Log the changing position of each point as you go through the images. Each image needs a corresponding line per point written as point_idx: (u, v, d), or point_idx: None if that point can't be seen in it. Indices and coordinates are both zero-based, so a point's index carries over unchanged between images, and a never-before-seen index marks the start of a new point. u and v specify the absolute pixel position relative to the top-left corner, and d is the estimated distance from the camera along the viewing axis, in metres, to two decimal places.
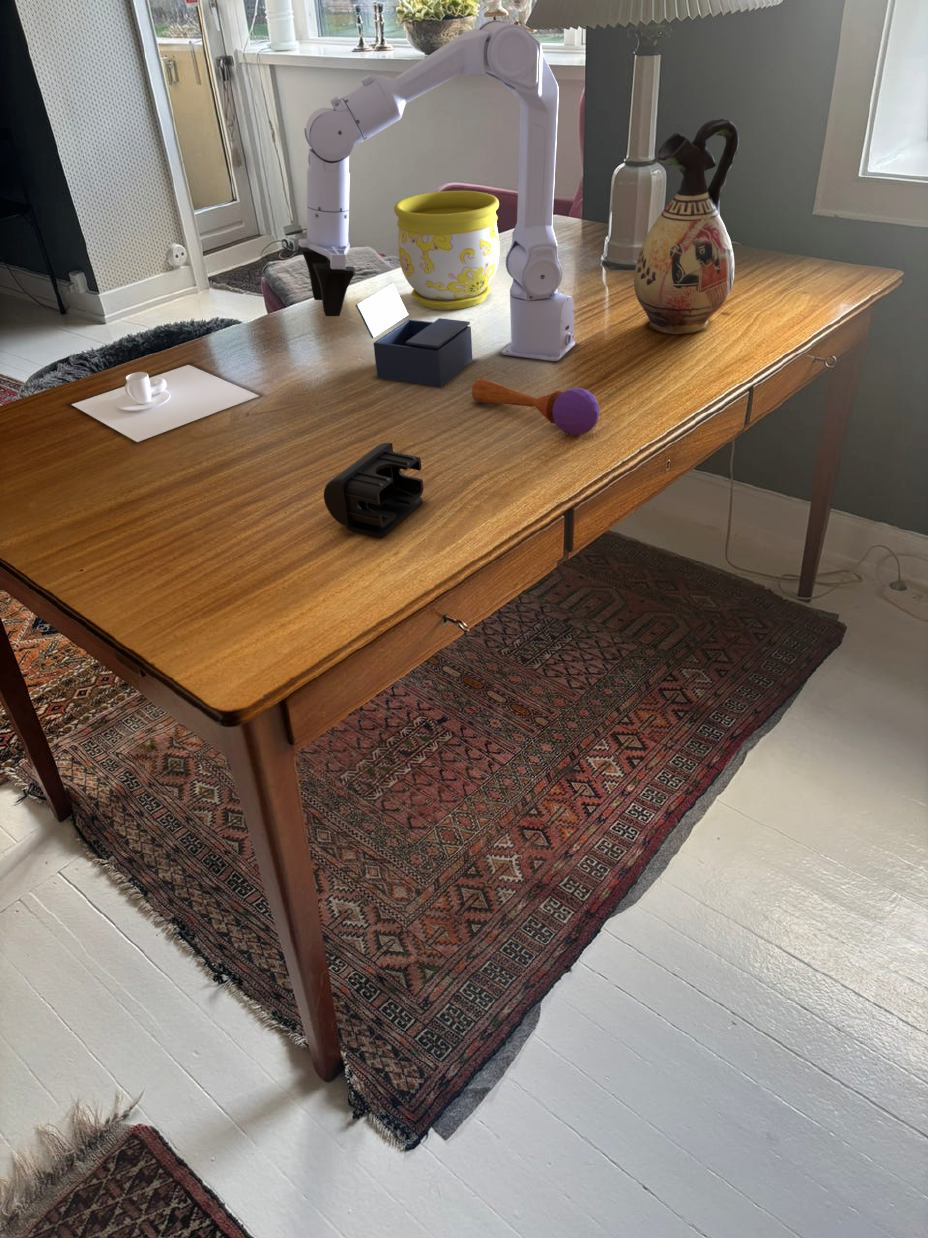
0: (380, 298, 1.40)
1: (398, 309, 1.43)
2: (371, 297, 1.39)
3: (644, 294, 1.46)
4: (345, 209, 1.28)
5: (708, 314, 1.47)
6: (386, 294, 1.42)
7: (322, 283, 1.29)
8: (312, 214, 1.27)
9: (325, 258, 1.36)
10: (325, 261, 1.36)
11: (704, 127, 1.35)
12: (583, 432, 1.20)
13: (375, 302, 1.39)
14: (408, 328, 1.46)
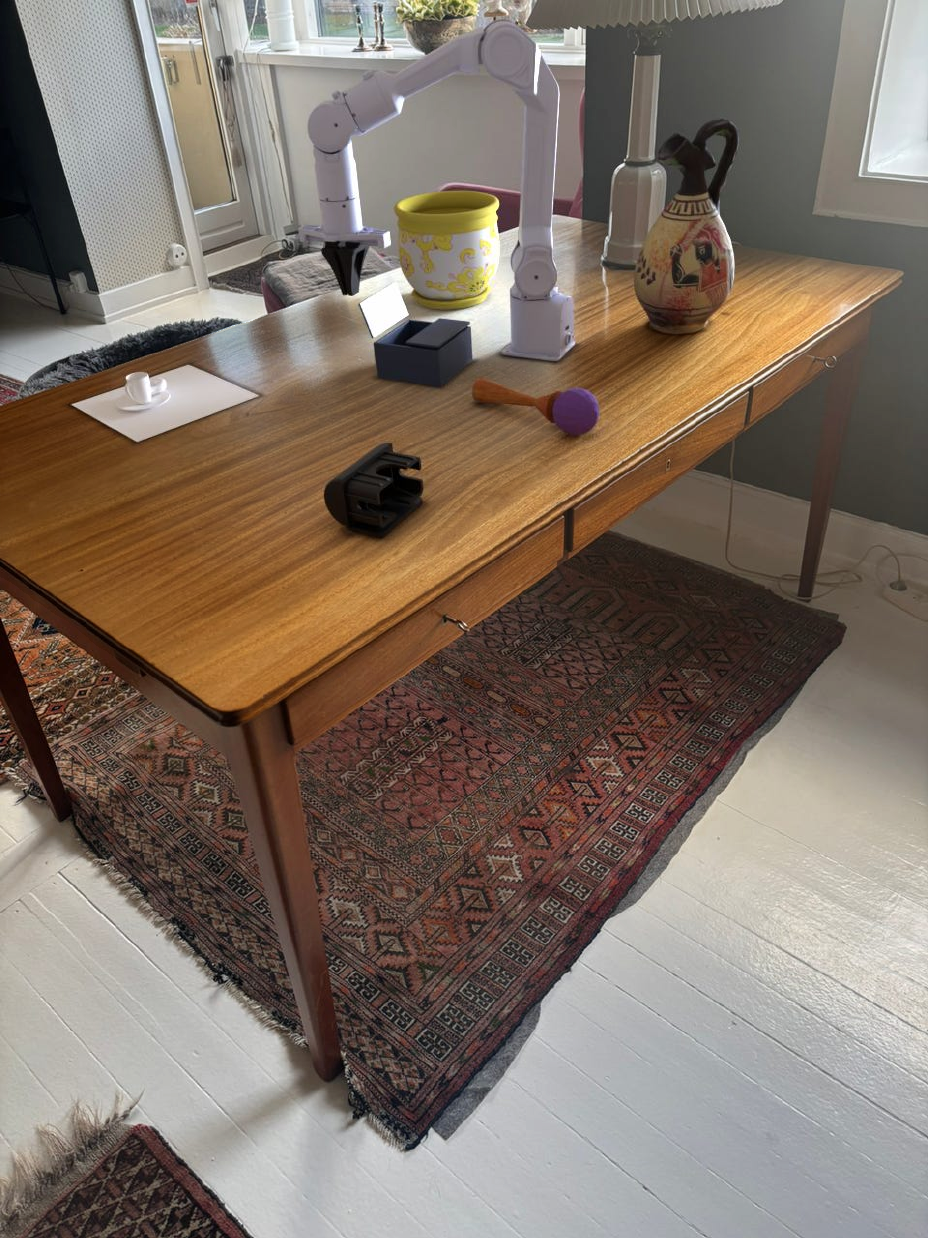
0: (382, 297, 1.40)
1: (399, 309, 1.43)
2: (374, 296, 1.38)
3: (644, 294, 1.46)
4: (352, 197, 1.32)
5: (708, 314, 1.47)
6: (388, 293, 1.41)
7: (352, 264, 1.37)
8: (339, 206, 1.32)
9: None
10: None
11: (704, 127, 1.35)
12: (583, 432, 1.20)
13: (378, 301, 1.39)
14: (408, 328, 1.46)
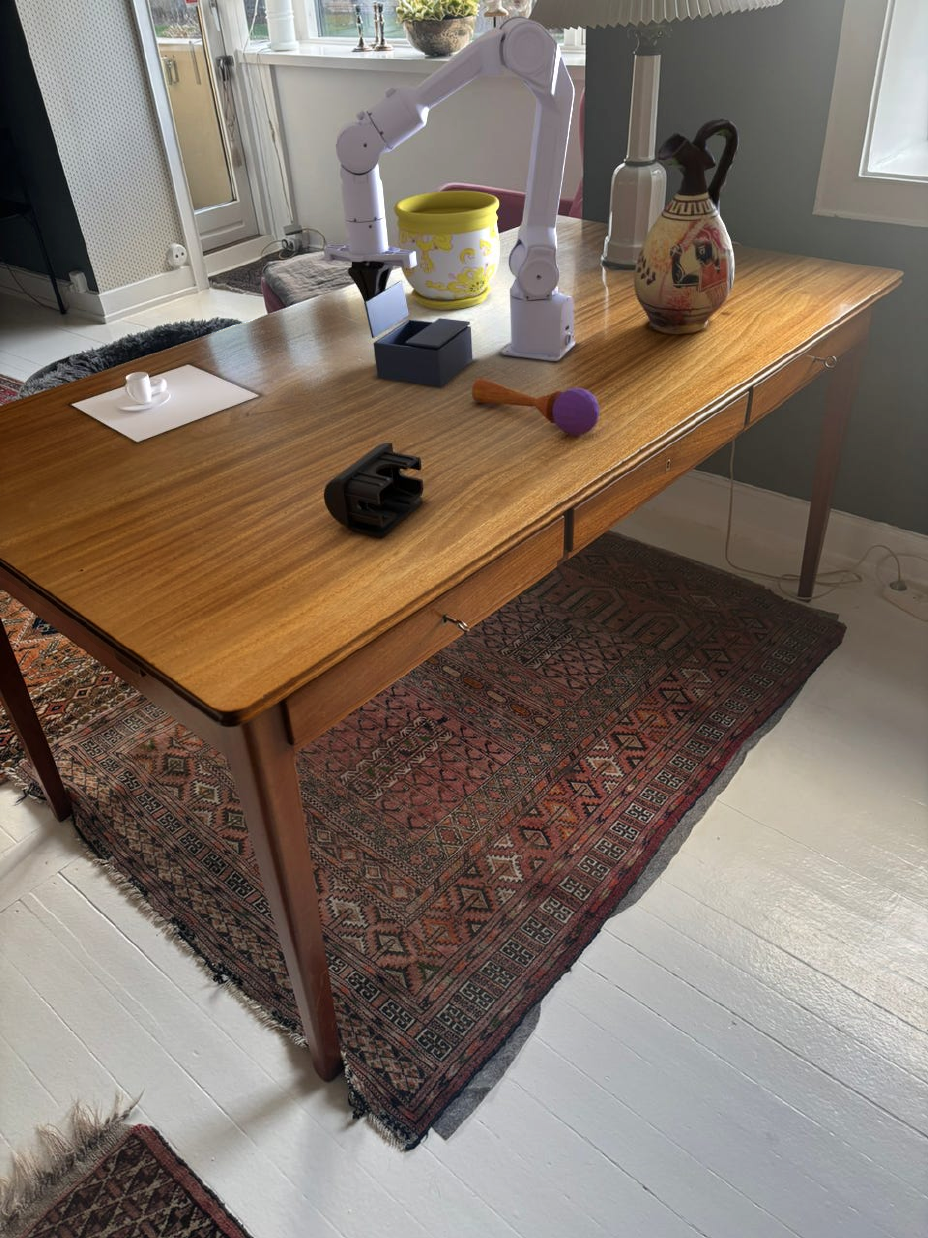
0: (387, 297, 1.40)
1: (401, 309, 1.43)
2: (379, 295, 1.38)
3: (644, 294, 1.46)
4: (380, 217, 1.32)
5: (708, 314, 1.47)
6: (393, 293, 1.41)
7: (376, 284, 1.37)
8: (365, 227, 1.31)
9: None
10: None
11: (704, 127, 1.35)
12: (583, 432, 1.20)
13: (382, 300, 1.39)
14: (408, 328, 1.46)
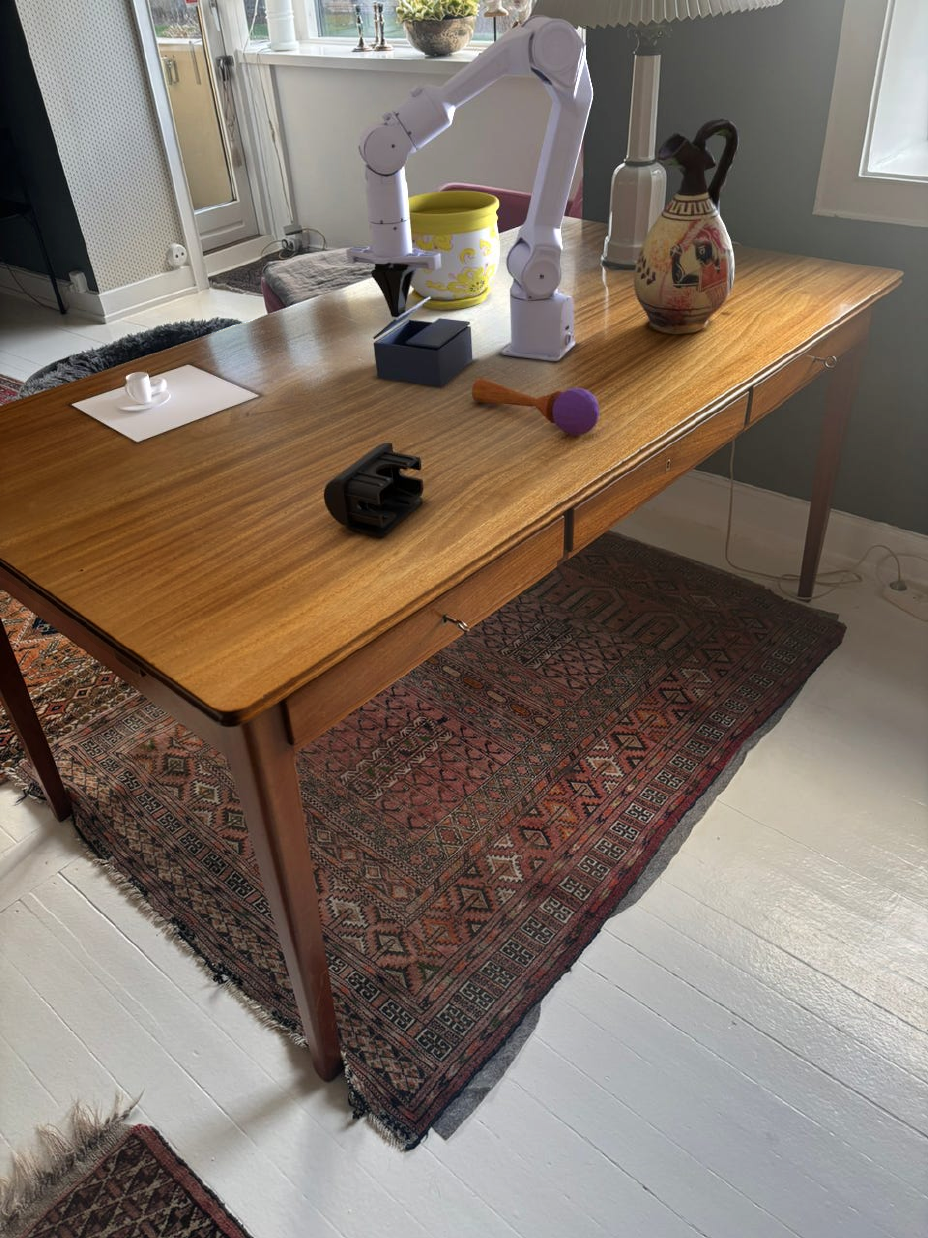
0: (411, 311, 1.39)
1: (409, 314, 1.43)
2: (408, 312, 1.37)
3: (644, 294, 1.46)
4: (406, 218, 1.31)
5: (708, 314, 1.47)
6: (417, 307, 1.40)
7: (400, 286, 1.35)
8: (390, 228, 1.30)
9: None
10: None
11: (704, 127, 1.35)
12: (583, 432, 1.20)
13: (406, 314, 1.38)
14: (408, 328, 1.46)
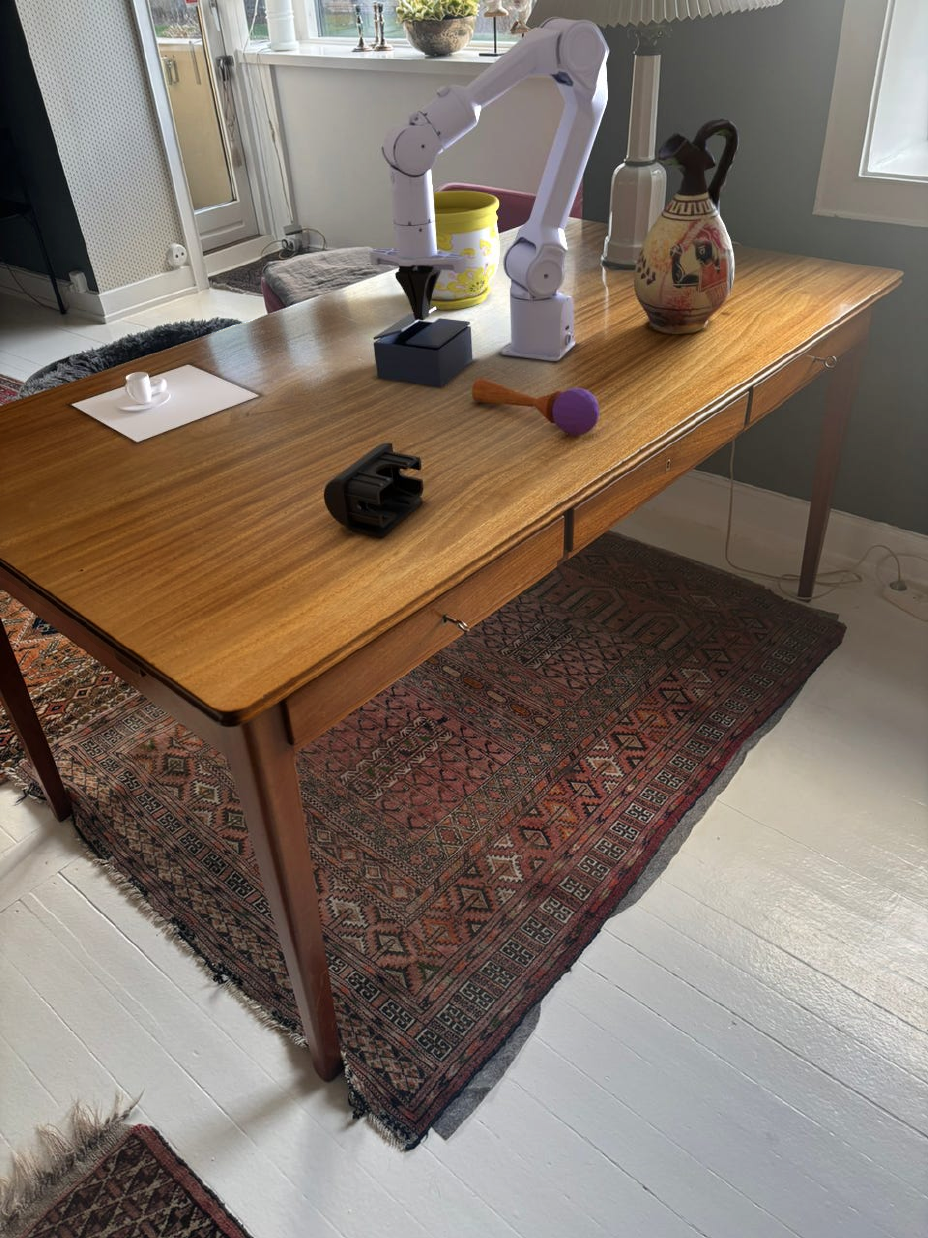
0: None
1: None
2: None
3: (644, 294, 1.46)
4: (433, 219, 1.29)
5: (708, 314, 1.47)
6: None
7: (424, 289, 1.34)
8: (415, 230, 1.28)
9: None
10: None
11: (704, 127, 1.35)
12: (583, 432, 1.20)
13: None
14: (408, 328, 1.46)
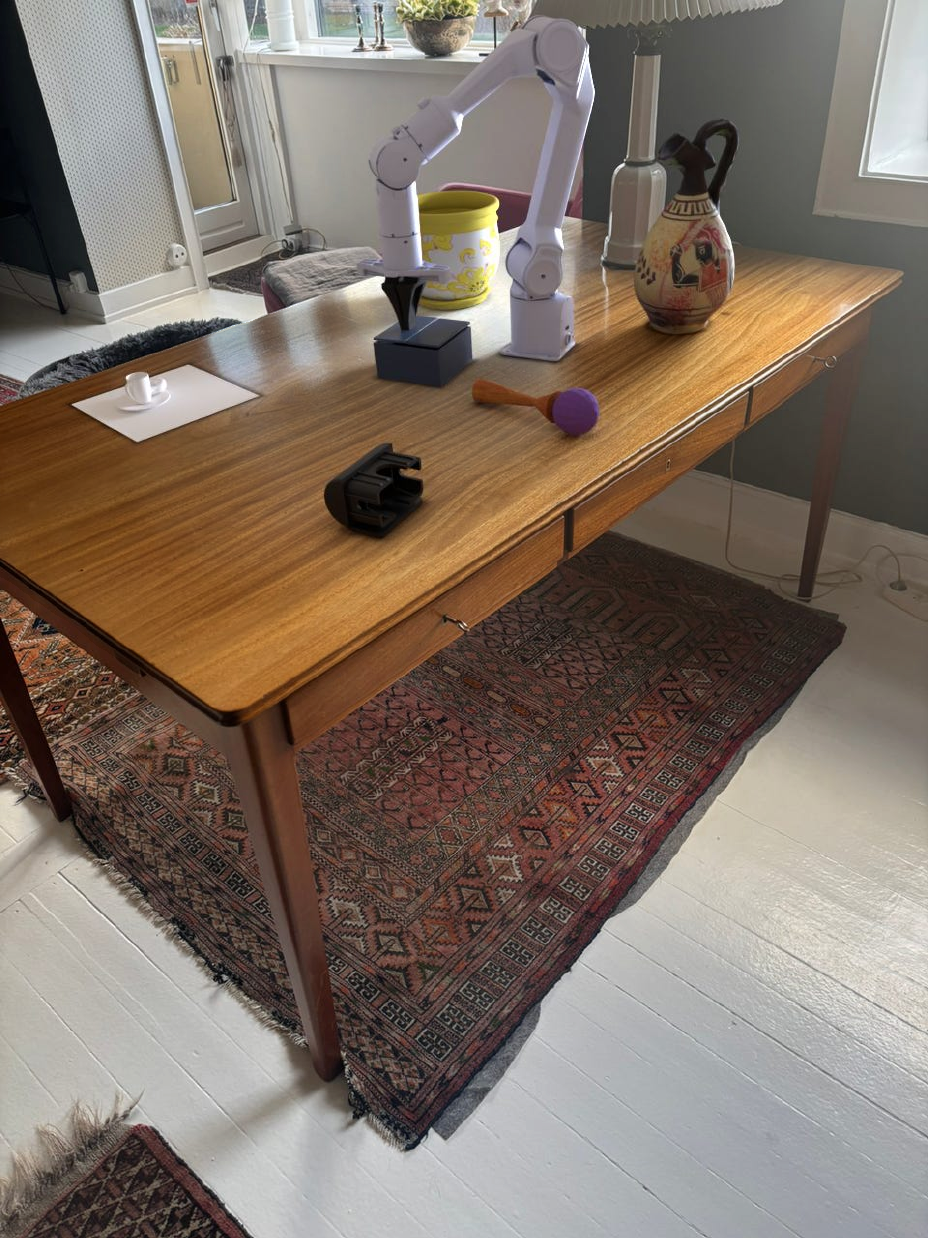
0: None
1: None
2: (415, 334, 1.39)
3: (644, 294, 1.46)
4: (417, 231, 1.31)
5: (708, 314, 1.47)
6: None
7: (410, 299, 1.35)
8: (400, 242, 1.30)
9: None
10: None
11: (704, 127, 1.35)
12: (583, 432, 1.20)
13: None
14: None
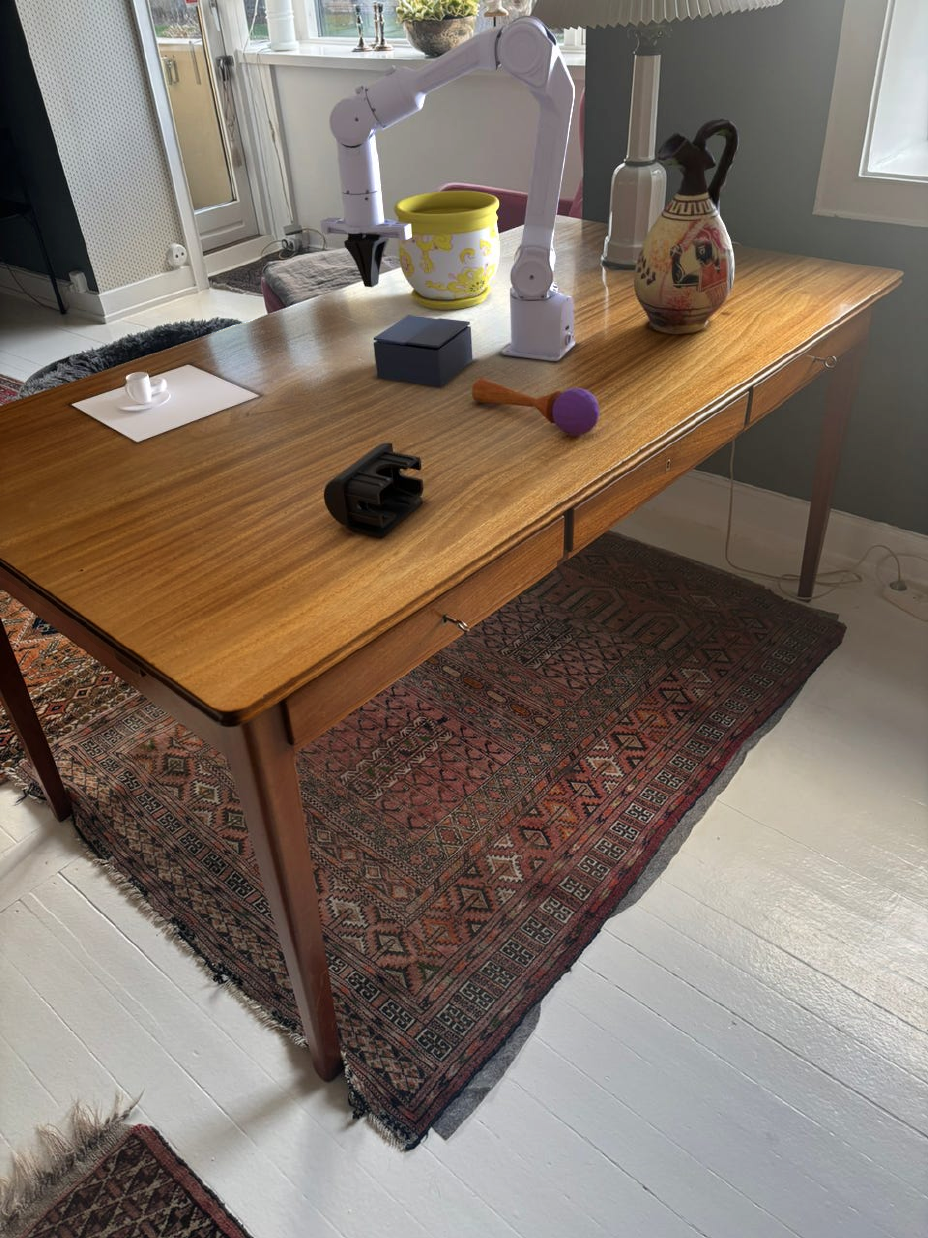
0: None
1: None
2: None
3: (644, 294, 1.46)
4: (373, 190, 1.34)
5: (708, 314, 1.47)
6: None
7: (372, 256, 1.39)
8: (361, 199, 1.34)
9: None
10: None
11: (704, 127, 1.35)
12: (583, 432, 1.20)
13: None
14: None
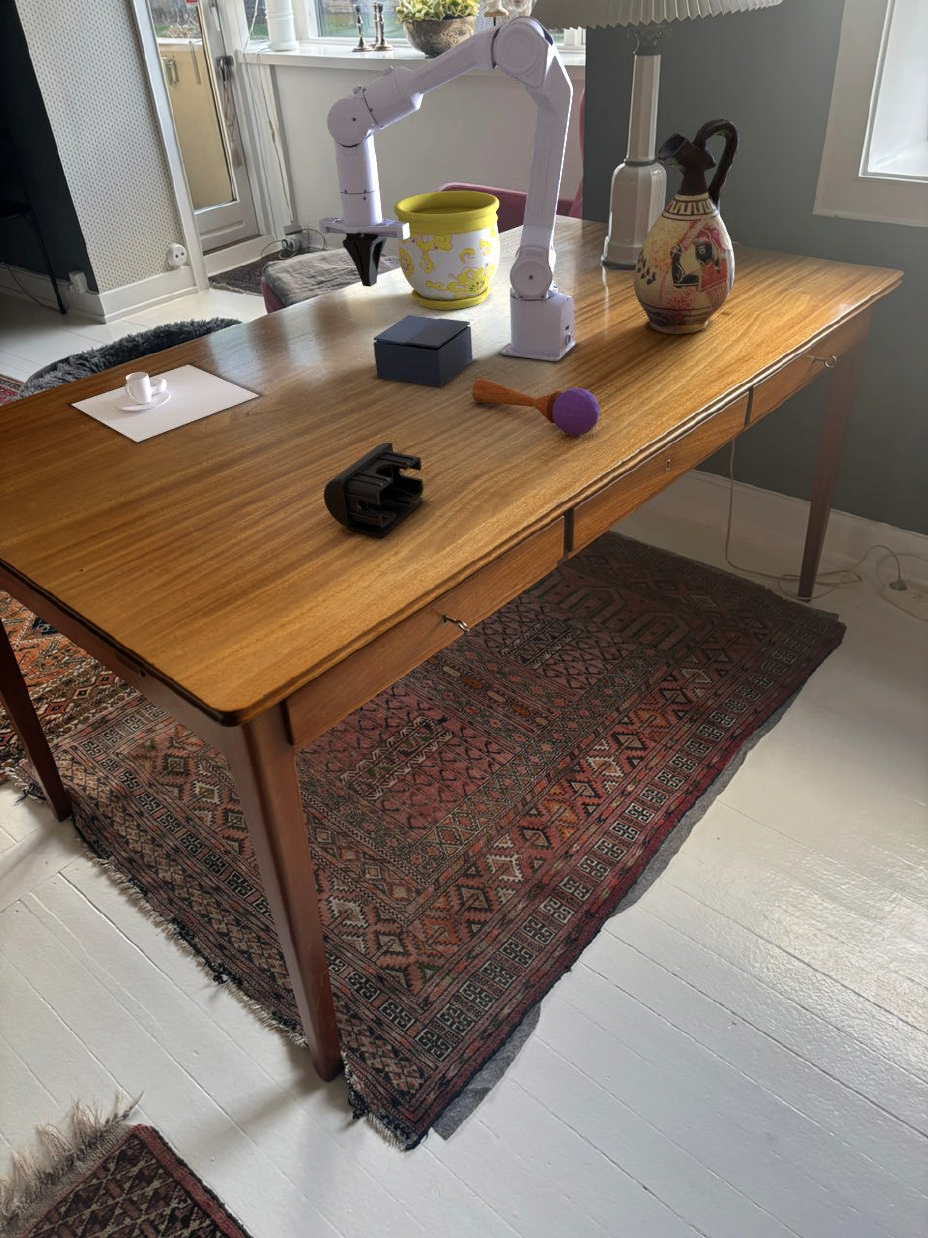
0: None
1: None
2: None
3: (644, 294, 1.46)
4: (370, 190, 1.35)
5: (708, 314, 1.47)
6: None
7: (370, 255, 1.40)
8: (359, 198, 1.35)
9: None
10: None
11: (704, 127, 1.35)
12: (583, 432, 1.20)
13: None
14: None
